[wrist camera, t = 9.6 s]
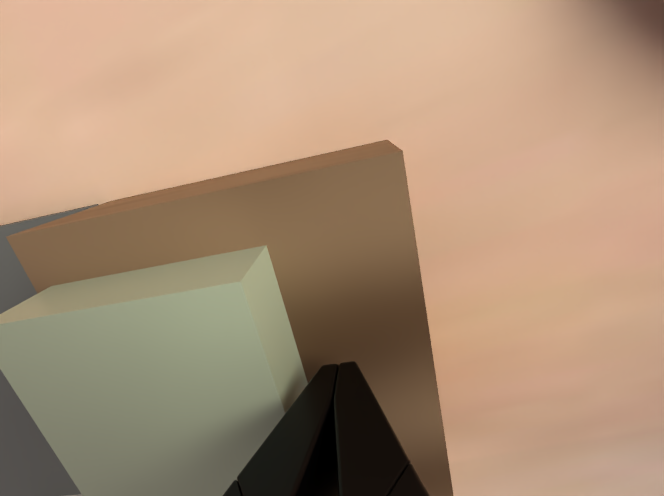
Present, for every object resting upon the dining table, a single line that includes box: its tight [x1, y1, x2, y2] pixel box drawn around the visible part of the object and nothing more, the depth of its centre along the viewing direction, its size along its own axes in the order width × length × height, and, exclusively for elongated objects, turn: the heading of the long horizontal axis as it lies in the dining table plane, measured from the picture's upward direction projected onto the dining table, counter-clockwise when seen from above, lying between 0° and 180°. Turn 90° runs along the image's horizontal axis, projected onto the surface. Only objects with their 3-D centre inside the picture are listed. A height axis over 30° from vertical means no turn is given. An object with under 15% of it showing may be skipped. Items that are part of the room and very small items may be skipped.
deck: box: [6, 140, 453, 496], centre depth 14 cm, size 22×10×4 cm, turn 12°
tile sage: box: [0, 245, 308, 496], centre depth 9 cm, size 7×6×2 cm
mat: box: [0, 204, 98, 496], centre depth 17 cm, size 22×13×1 cm, turn 12°
